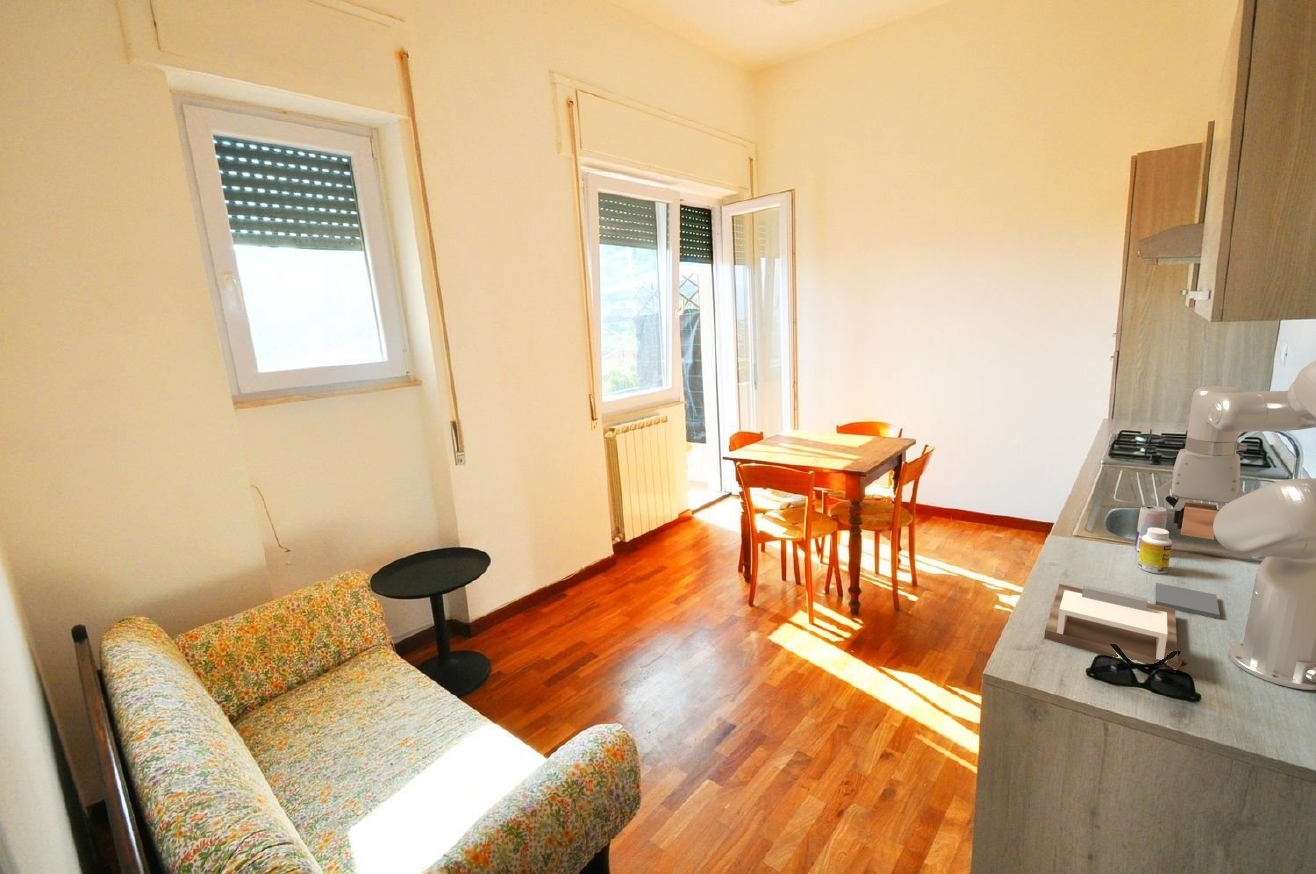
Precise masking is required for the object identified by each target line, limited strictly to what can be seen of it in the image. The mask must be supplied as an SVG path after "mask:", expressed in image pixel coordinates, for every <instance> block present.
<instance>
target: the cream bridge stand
mask: <svg viewBox="0 0 1316 874" xmlns="http://www.w3.org/2000/svg"><path fill="white" fill-rule="evenodd" d="M1082 589H1083V591H1082V594H1081V593H1076V592H1072V591H1067V590H1065V591H1064V594H1063V598H1062V601H1061V605H1060V608H1059V617H1058V626H1057V633H1060V634H1063V632H1064V628H1065V624H1066V621H1067V617H1068V616H1072V617H1076V618H1080V619H1084V620H1089V621H1093V622H1097V623H1101V624H1105V625H1109V626H1113V627H1117V628H1121V629H1125V630H1130V631H1134V632H1138V633H1142V634H1146V635H1150V636H1154V637H1156V659H1159V660H1162V659H1164V654H1165V647H1166V641H1167V612H1163V611H1158V610H1153V609H1149V608H1147V603H1149V602H1148V598H1147V597H1142V596H1136V595H1132V594H1129V593H1122V592H1119V591H1118V592H1117V591H1114V590H1108V589H1104V588H1099V587H1096V586H1095V587H1094V586H1090V585H1085V584H1083V585H1082Z"/></svg>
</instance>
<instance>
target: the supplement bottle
mask: <svg viewBox="0 0 1316 874" xmlns="http://www.w3.org/2000/svg"><path fill="white" fill-rule="evenodd" d="M1169 535H1170V532H1169V530H1168V529H1166V528H1165V529H1161V528H1148V530H1147V534H1146V535H1144V536H1143V537H1142V541H1141V548H1140V553H1139V557H1138V562H1137V564H1138V565H1137V566H1138V568H1140V569H1141V570H1142V571H1145V572H1147V573H1153V574H1166V573H1167V572H1168V570H1169V565H1170V558H1171V552H1172V546H1173V540H1171V539H1170V538H1169V537H1170V536H1169Z"/></svg>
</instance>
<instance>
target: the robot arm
mask: <svg viewBox="0 0 1316 874" xmlns="http://www.w3.org/2000/svg"><path fill="white" fill-rule="evenodd" d="M1188 419H1189V420H1188V428H1187V434H1186V439H1185V446H1184V448H1181V449H1179V451H1178V454H1177V456H1176V459H1175V463H1174V467H1173V469H1172V470H1173V471H1172V476H1171V479H1169V480H1168V481H1166V482H1165V483H1164V484H1162V485H1161V486H1159V487H1158V488H1156V490H1155V491H1156V494H1157V495H1158V496H1160V497H1161V498H1162V499H1163V500H1165V501H1166V502H1167V503H1168V504H1169V505H1170V506H1171V507H1172V508H1173V509H1174V514H1173V524H1176V528H1177V530H1181V529H1182V523H1183V516H1184V508H1183V506H1184V504H1185V503H1186V501H1188V500H1194V501H1204V502H1209V503H1211V502H1212V503H1216V505H1217V510H1218V513H1217V514H1216V516H1215V519H1214V523H1213V531H1214V538H1215V539H1216V541H1217V542H1218V543H1219V545H1221V546H1223V548H1225V549H1226V550H1228V551H1229V552H1230V553H1234V554H1236V555H1240V556H1243V557H1256V558H1257V557H1258V558H1259V557H1261V558H1262V557H1263V559H1262V561H1261V563H1260V564H1259V566H1258V568H1257V571H1256V572H1255V576H1254V577H1255V578H1254V584H1253V589H1252V594H1251V598H1250V599H1251V600H1250V605H1249V608H1248V609H1249V610H1248V611H1249V612H1248V616H1247V621H1246V625H1245V626H1246V627H1245V630H1244V631H1245V632H1244V637H1243V642H1238V643H1234V644H1233V645H1231V646H1230V647H1229V649H1228V650H1229V651H1228V657H1229V658H1230V660H1231V661H1232V662H1233V664H1234V665H1236V666H1238V667H1239V668H1240V669H1242V670H1243V671H1245V672H1247V673H1249V674H1251V675H1252V676H1255V677H1256V678H1259V679H1262V680H1264V681H1267V682H1270V683H1272V684H1276V685H1279V686H1283V687H1287V688H1292V689H1297V690H1298V689H1299V690H1304V691H1307V690H1308V691H1316V478H1292V479H1284V480H1279V481H1275V482H1272V483H1269V484H1266V485H1264V486H1262V487H1260V488H1257V489H1255V490H1253V491H1250V492H1249V493H1245V491H1244V490H1243V489H1242V488H1241V487H1240V482H1241V481H1240V479H1241V459H1240V457H1241V456H1240V454H1238V452H1239V451H1247V448H1248V444H1247V443H1242V442H1240V441H1238V439H1239V433H1249V432H1251V433H1252V432H1287V431H1288V432H1290V431H1299V430H1308V429H1314V428H1316V360H1314V361H1312V362H1310V363H1308V364H1307V365H1305V366H1304V367H1303V368H1302V369H1301V370H1300V371H1299V372H1298V374H1297V375H1296V376H1295V380H1294V381H1293V382H1291V384H1290V386H1289V388H1288V390H1267V391H1247V392H1246V391H1244V390H1242V389H1241V388H1238V387H1234V386H1226V385H1224V386H1223V385H1207V386H1206V385H1205V386H1199V387H1198V388H1196V389H1195V390H1194V392H1193V394H1192V400H1191V407H1190V413H1189V418H1188ZM1170 490H1171V491H1170ZM1168 491H1170V492H1171V494H1170V493H1169V492H1168Z"/></svg>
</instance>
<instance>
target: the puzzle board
mask: <svg viewBox="0 0 1316 874" xmlns="http://www.w3.org/2000/svg"><path fill="white" fill-rule="evenodd" d="M1065 590H1067V591H1072V592H1076V593H1081V594H1082V591H1083V588H1081V587H1077V586H1076V587H1075V586H1070V585H1065V584H1061V583H1058V587H1057V591H1056V594H1055V596H1054V600H1053V603H1052V605H1051V606H1052V607H1051V609H1050V612H1049V616H1048V620H1047V623H1046V625H1045V629H1044V635H1043V636H1044V637H1043V638H1044V639H1045V640H1048V641H1053V642H1056V643H1060V644H1064V645H1066V646H1071V647H1074V648H1079V649H1082V650H1085V651H1089V652H1093V653H1096V654H1100V655H1104V656H1107V657H1111V656H1114V657H1118V655H1117V654H1116V652H1115V651H1114V650H1113V648H1112V646H1111V645H1110V644H1116V645H1117V646H1118V647H1119V648H1120V649H1121V650H1122V651H1123V653H1124V654H1125V655H1126V657H1128V658H1130V659H1131V660H1138V661H1140V662H1144V663H1149V664H1154V663H1157V662H1159V661H1160V660H1159V659H1156V637H1154V636H1150V635H1146V634H1142V633H1138V632H1134V631H1130V630H1125V629H1121V628H1117V627H1113V626H1109V625H1105V624H1101V623H1097V622H1093V621H1089V620H1084V619H1080V618H1076V617H1072V616H1068V617H1067V621H1066V624H1065V628H1064V632H1063V634H1060V633H1057V626H1058V617H1059V608H1060V605H1061V601H1062V598H1063V594H1064V591H1065ZM1147 608H1149V609H1153V610H1158V611H1163V612H1167V641H1166V647H1165V654H1164V658H1166V657H1167V655H1169V654H1170V653H1171V652H1173V651H1177V652H1178V642H1177V641H1178V640H1177V638H1178V637H1177V623H1176V622H1177V621H1176V620H1177V619H1176V618H1177V617H1176V610H1175V609H1174V608H1169V607H1164V606H1160V605H1156V603H1155V604H1154V603H1150V602H1147ZM1114 657H1113V658H1114ZM1166 665H1167V666H1170V667H1172V668H1173V669H1177V670H1178V666H1179V661H1178V653H1177V654H1176V655H1175V656H1174V657H1173V658H1171V659H1170V660H1168V661H1167V662H1166Z"/></svg>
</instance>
